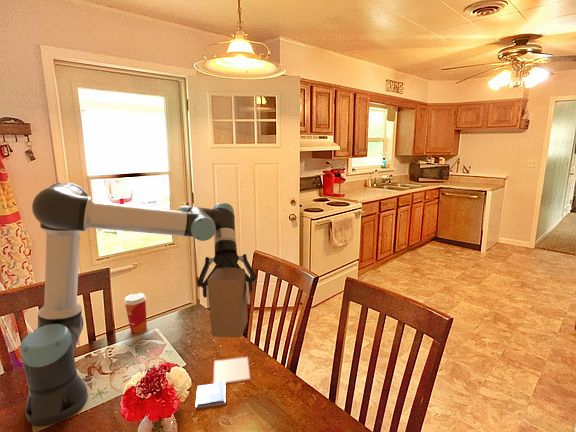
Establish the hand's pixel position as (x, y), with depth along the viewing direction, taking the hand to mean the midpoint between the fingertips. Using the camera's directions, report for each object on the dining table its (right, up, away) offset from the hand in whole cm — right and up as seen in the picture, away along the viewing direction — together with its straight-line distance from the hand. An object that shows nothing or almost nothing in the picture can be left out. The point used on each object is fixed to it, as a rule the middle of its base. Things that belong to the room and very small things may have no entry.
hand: (228, 304), depth 105 cm
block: (0, -10, +5) cm, 11 cm away
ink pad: (-5, -27, -3) cm, 28 cm away
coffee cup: (-43, -19, +33) cm, 58 cm away
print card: (0, -24, +8) cm, 26 cm away
